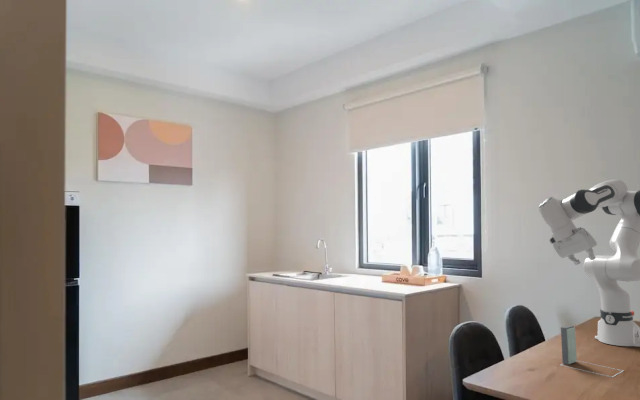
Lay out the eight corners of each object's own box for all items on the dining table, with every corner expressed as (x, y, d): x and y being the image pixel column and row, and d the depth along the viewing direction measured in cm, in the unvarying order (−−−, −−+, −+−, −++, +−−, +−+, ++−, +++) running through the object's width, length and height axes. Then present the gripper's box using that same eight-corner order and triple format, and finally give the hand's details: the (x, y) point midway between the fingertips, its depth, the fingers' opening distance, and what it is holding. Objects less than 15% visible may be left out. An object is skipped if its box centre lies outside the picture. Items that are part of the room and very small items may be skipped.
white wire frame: (572, 359, 175) (623, 370, 161) (572, 360, 175) (624, 372, 161) (559, 364, 169) (612, 377, 155) (559, 366, 169) (612, 378, 155)
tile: (570, 360, 174) (568, 325, 175) (577, 362, 172) (575, 326, 173) (562, 363, 171) (560, 327, 172) (569, 365, 169) (567, 328, 170)
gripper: (588, 222, 179) (608, 253, 175) (557, 236, 198) (575, 263, 194) (576, 229, 177) (597, 259, 173) (546, 241, 196) (564, 269, 192)
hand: (585, 261), depth 184 cm, fingers open, 8 cm apart
